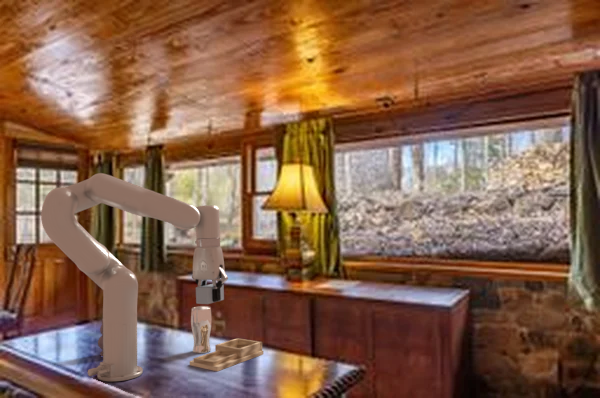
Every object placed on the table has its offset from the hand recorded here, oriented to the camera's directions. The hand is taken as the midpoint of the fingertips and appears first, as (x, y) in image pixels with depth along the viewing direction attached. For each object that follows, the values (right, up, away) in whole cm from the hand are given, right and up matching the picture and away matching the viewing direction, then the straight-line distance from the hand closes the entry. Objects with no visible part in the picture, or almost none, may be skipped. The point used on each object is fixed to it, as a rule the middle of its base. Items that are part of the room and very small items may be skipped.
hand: (210, 300), depth 161 cm
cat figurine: (-36, -21, +10) cm, 43 cm away
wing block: (0, 0, 0) cm, 0 cm away
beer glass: (-5, -21, +13) cm, 25 cm away
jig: (+5, -20, +2) cm, 21 cm away
